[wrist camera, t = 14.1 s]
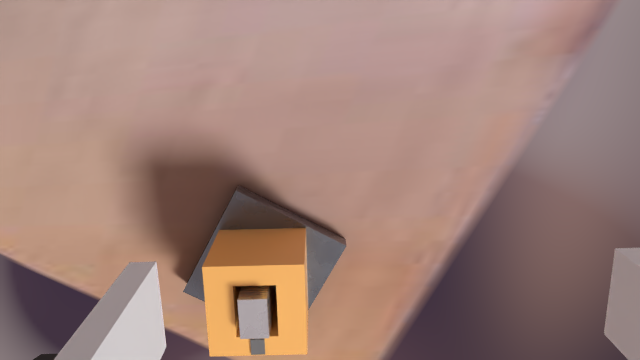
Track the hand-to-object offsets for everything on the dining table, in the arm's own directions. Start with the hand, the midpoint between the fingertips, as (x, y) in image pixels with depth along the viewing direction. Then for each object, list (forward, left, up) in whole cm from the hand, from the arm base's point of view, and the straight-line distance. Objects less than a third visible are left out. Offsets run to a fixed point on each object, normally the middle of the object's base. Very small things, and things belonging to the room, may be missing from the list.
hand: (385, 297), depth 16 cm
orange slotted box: (+6, -12, -27) cm, 30 cm away
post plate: (+6, -12, -29) cm, 32 cm away
